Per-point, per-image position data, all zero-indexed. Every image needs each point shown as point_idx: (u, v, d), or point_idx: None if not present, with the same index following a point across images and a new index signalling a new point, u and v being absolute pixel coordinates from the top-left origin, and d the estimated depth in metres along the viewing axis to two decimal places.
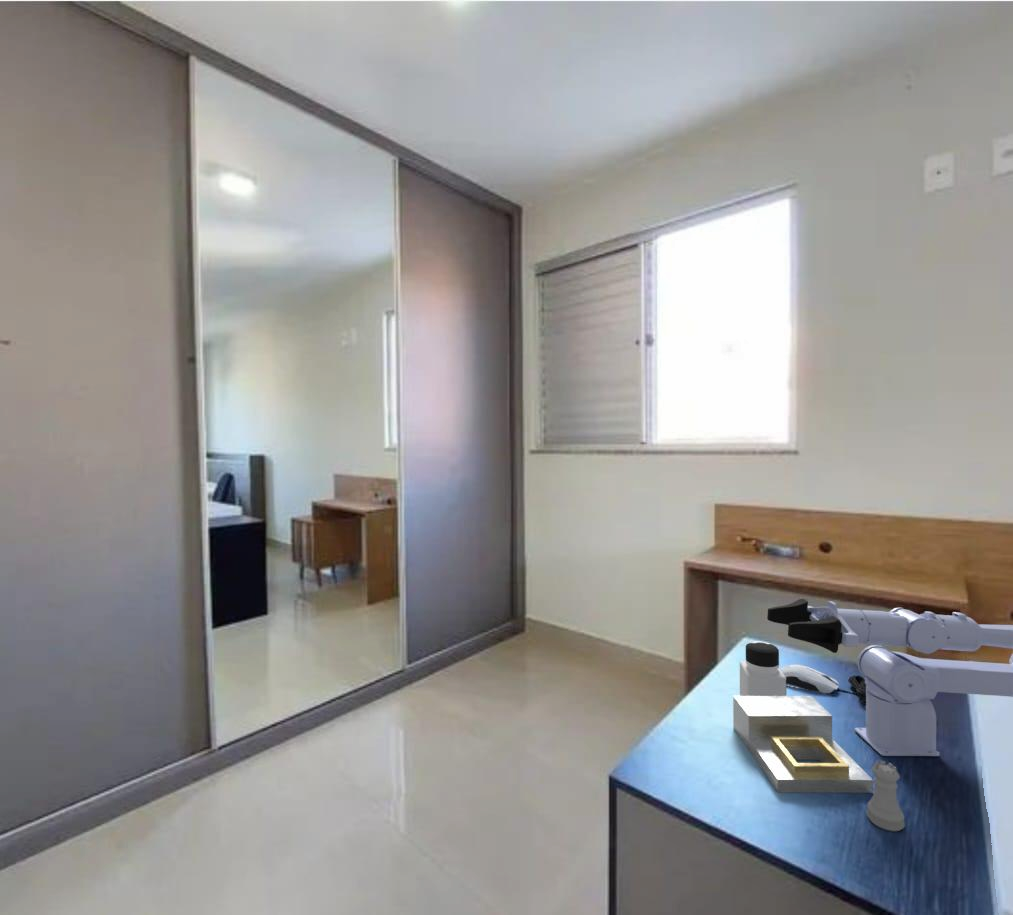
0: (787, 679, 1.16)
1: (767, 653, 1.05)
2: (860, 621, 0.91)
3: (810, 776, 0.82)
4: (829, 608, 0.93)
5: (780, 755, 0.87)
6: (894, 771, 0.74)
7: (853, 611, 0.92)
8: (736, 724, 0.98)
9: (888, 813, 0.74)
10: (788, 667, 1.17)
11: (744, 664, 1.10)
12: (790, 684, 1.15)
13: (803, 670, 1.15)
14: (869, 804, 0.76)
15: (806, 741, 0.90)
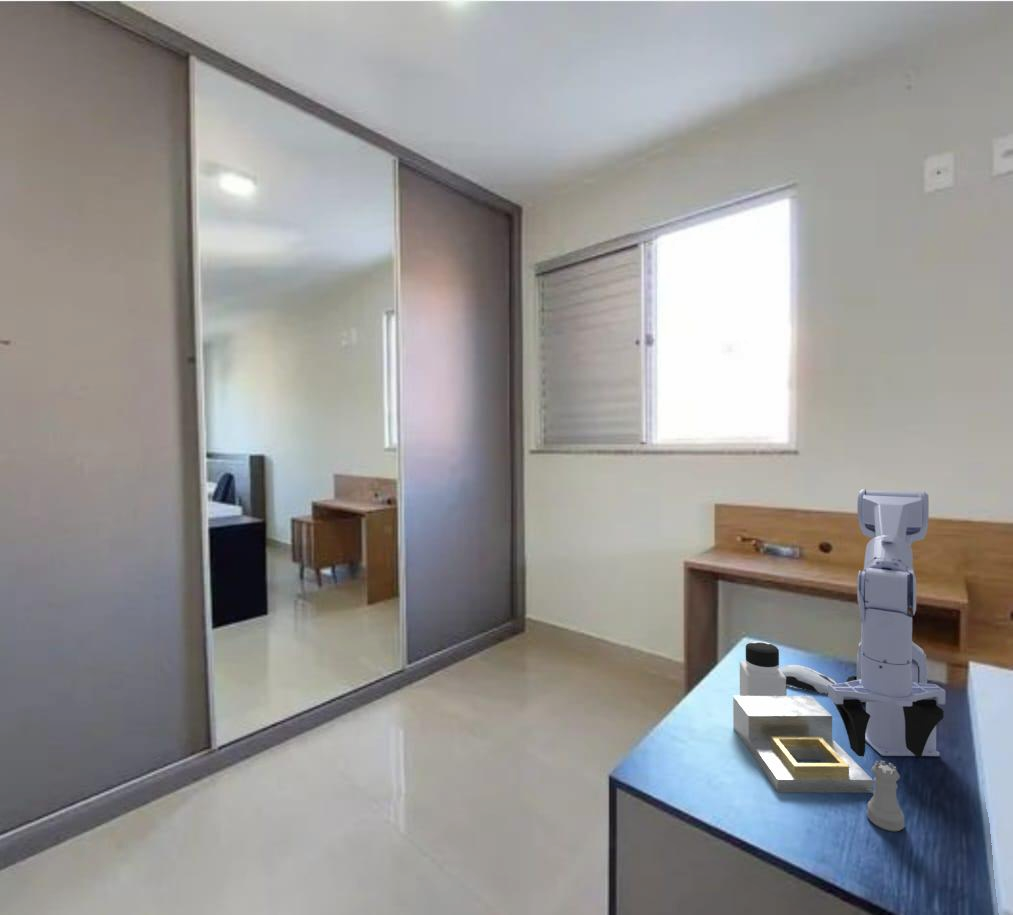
0: None
1: (767, 653, 1.05)
2: (911, 669, 0.73)
3: (810, 776, 0.82)
4: None
5: (780, 755, 0.87)
6: (894, 771, 0.74)
7: (903, 674, 0.72)
8: (736, 724, 0.98)
9: (888, 813, 0.74)
10: (786, 667, 1.17)
11: (744, 664, 1.10)
12: (788, 684, 1.15)
13: (801, 670, 1.15)
14: (869, 804, 0.76)
15: (806, 741, 0.90)
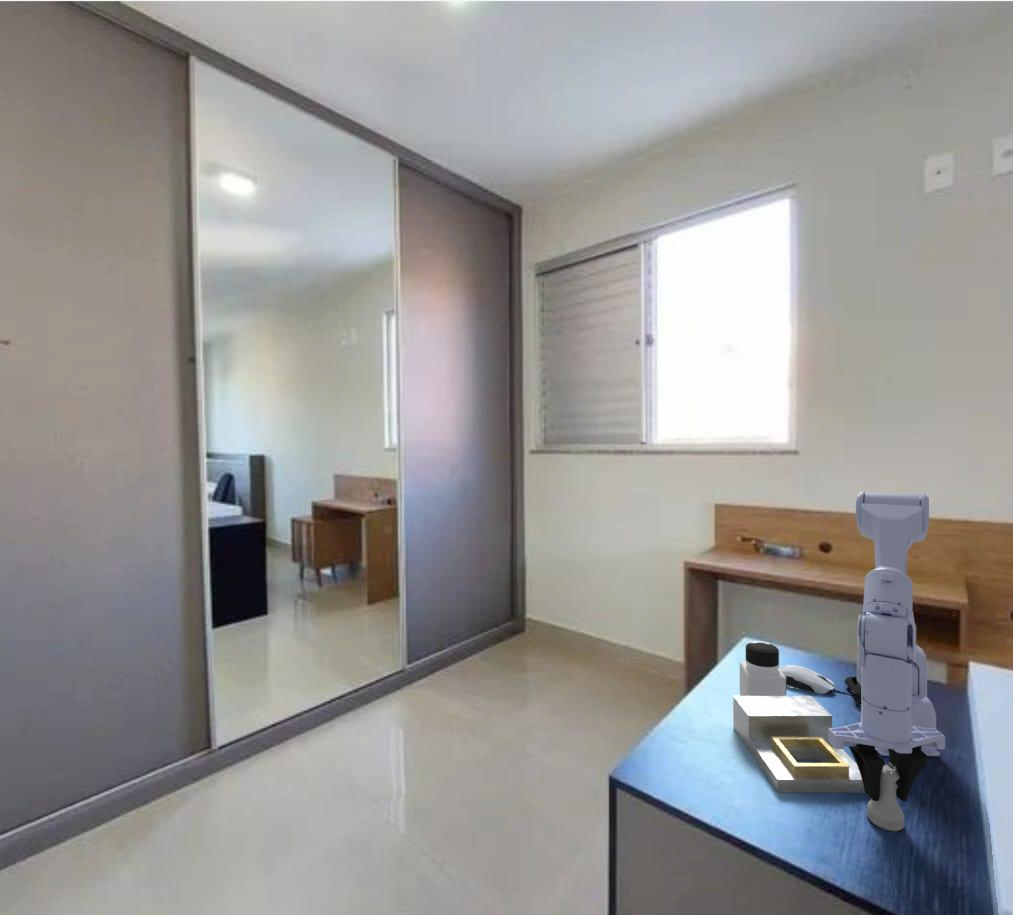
0: None
1: (767, 653, 1.05)
2: (911, 715, 0.73)
3: (810, 776, 0.82)
4: None
5: (780, 755, 0.87)
6: (894, 771, 0.74)
7: (903, 721, 0.72)
8: (736, 724, 0.98)
9: (888, 813, 0.74)
10: (784, 667, 1.17)
11: (744, 664, 1.10)
12: None
13: (798, 670, 1.15)
14: (869, 804, 0.76)
15: (806, 741, 0.90)
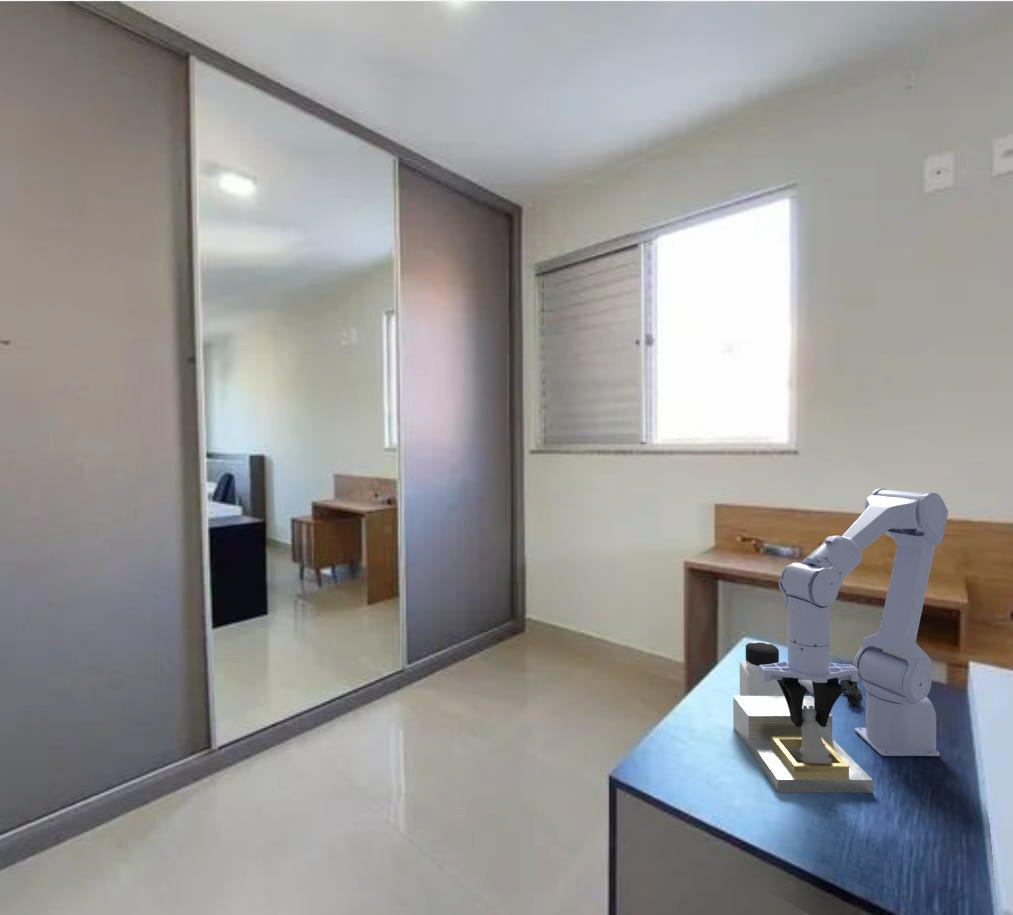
0: None
1: (767, 653, 1.05)
2: (828, 651, 0.84)
3: (810, 776, 0.82)
4: None
5: (780, 755, 0.87)
6: (810, 706, 0.86)
7: (820, 655, 0.83)
8: (736, 724, 0.98)
9: (813, 746, 0.83)
10: None
11: (744, 664, 1.10)
12: None
13: None
14: None
15: None
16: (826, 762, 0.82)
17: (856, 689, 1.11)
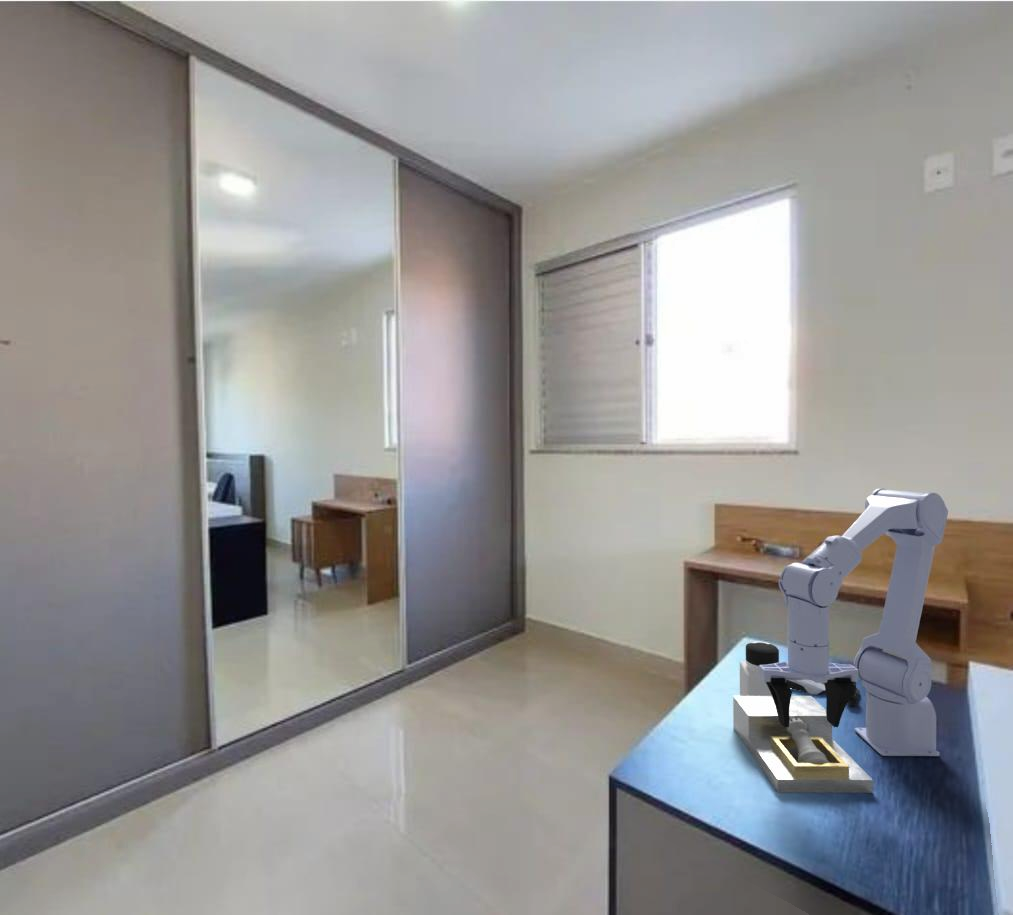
0: None
1: (767, 653, 1.05)
2: (828, 651, 0.84)
3: (810, 776, 0.82)
4: None
5: (780, 755, 0.87)
6: (798, 719, 0.90)
7: (820, 655, 0.83)
8: (736, 724, 0.98)
9: (808, 749, 0.85)
10: None
11: (744, 663, 1.10)
12: None
13: None
14: None
15: None
16: (823, 761, 0.83)
17: None
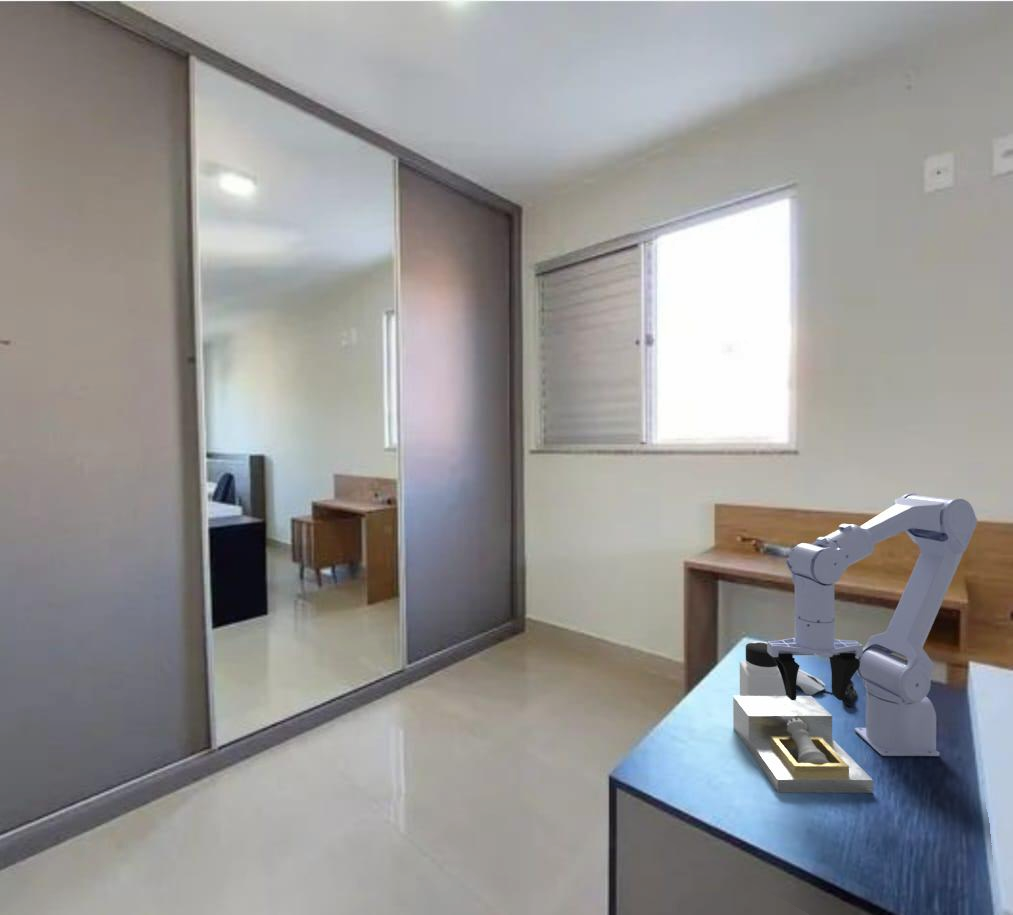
0: None
1: (767, 653, 1.05)
2: None
3: (810, 776, 0.82)
4: None
5: (780, 755, 0.87)
6: (798, 719, 0.90)
7: (826, 631, 0.87)
8: (736, 724, 0.98)
9: (808, 749, 0.85)
10: None
11: (744, 664, 1.10)
12: None
13: None
14: None
15: None
16: (823, 761, 0.83)
17: (852, 690, 1.10)
